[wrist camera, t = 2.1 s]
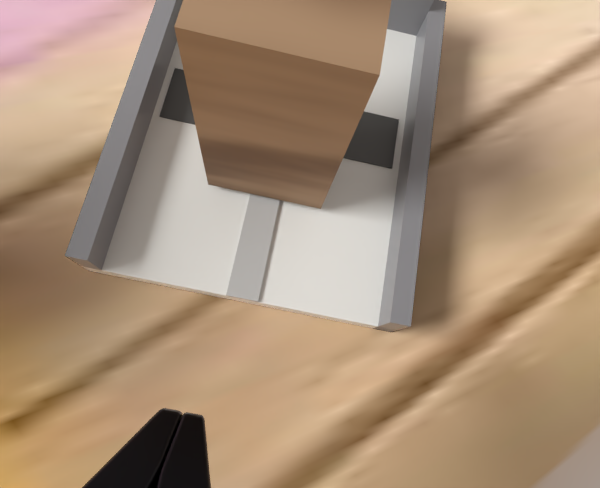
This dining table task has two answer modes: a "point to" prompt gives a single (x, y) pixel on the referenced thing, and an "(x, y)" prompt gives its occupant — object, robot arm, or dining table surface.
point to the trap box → (262, 210)
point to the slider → (279, 88)
